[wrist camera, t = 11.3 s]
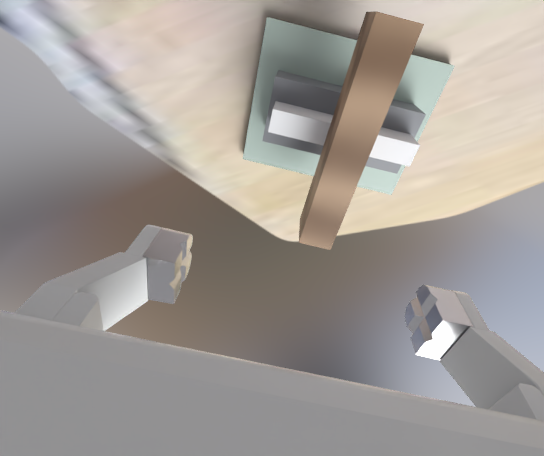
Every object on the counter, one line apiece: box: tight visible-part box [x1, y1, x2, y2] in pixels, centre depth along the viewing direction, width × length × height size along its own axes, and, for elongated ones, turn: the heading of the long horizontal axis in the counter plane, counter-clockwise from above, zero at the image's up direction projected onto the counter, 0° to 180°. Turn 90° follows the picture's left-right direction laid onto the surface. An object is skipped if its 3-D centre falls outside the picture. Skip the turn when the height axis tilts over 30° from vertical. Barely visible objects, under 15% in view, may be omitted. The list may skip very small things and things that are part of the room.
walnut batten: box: [299, 12, 424, 250], centre depth 26 cm, size 18×3×4 cm, turn 168°
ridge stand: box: [243, 17, 455, 194], centre depth 31 cm, size 14×18×8 cm
